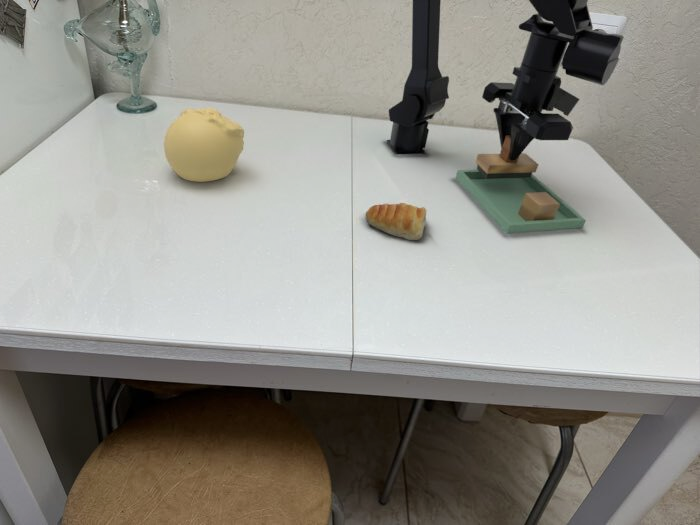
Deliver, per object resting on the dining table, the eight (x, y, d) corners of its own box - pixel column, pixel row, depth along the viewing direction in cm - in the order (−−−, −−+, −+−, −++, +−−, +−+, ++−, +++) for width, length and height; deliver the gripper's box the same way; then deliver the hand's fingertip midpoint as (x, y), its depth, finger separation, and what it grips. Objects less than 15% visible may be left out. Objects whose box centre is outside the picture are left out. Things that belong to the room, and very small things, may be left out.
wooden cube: (530, 226, 80) (539, 205, 78) (517, 213, 83) (525, 192, 81) (551, 225, 81) (560, 204, 79) (537, 212, 84) (546, 191, 82)
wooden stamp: (484, 179, 86) (496, 143, 82) (473, 168, 89) (484, 132, 85) (533, 178, 89) (546, 143, 85) (520, 167, 92) (533, 132, 88)
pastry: (361, 231, 74) (364, 209, 72) (368, 209, 80) (372, 188, 78) (422, 244, 73) (427, 222, 71) (425, 221, 79) (430, 200, 77)
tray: (505, 236, 78) (509, 225, 77) (454, 180, 92) (457, 170, 91) (581, 230, 82) (586, 219, 81) (521, 177, 96) (525, 168, 95)
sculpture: (254, 171, 86) (253, 110, 79) (206, 197, 77) (201, 132, 71) (204, 151, 90) (199, 92, 83) (153, 174, 81) (143, 110, 75)
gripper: (620, 88, 73) (578, 181, 83) (549, 51, 87) (520, 134, 96) (557, 85, 70) (521, 182, 79) (494, 48, 84) (469, 134, 93)
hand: (508, 156), depth 87 cm, fingers closed on wooden stamp, 2 cm apart
